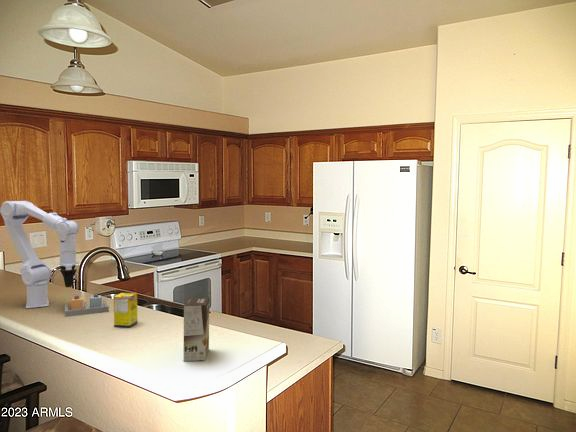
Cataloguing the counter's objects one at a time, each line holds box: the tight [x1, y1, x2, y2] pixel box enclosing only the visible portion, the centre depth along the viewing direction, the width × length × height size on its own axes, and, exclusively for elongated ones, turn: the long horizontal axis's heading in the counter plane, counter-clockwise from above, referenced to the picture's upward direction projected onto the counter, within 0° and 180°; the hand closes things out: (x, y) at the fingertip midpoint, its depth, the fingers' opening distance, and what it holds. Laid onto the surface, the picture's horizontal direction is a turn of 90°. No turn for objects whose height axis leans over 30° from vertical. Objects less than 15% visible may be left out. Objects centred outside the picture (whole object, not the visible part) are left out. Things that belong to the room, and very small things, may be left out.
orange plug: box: [70, 295, 84, 310], centre depth 165 cm, size 4×4×6 cm
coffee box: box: [183, 296, 210, 362], centre depth 123 cm, size 9×6×16 cm
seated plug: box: [89, 293, 103, 308], centre depth 168 cm, size 4×4×6 cm
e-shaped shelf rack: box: [64, 299, 110, 317], centre depth 166 cm, size 11×15×2 cm
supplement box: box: [113, 292, 138, 329], centre depth 149 cm, size 6×6×11 cm
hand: (68, 285), depth 168 cm, fingers open, 7 cm apart
